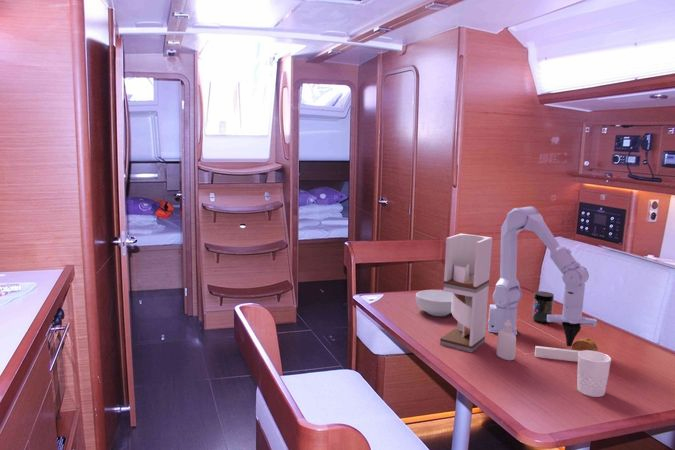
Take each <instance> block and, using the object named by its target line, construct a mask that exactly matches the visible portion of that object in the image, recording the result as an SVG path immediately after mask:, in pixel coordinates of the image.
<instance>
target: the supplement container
mask: <svg viewBox="0 0 675 450" xmlns="http://www.w3.org/2000/svg"><path fill="white" fill-rule="evenodd" d="M533 294H534V295H533V297H534V298H533V305H532V307H533V308H532V317H531V318H532V320H533V322H535V323H539V324H542V325H543V324H545V325H546V324H551V322H547V314H548V315H553V309H554V308H553V307H554V299H555V298H554V297H555V295H554V293H552V292H548V291H542V290H541V291H534V293H533Z"/></svg>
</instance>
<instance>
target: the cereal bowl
mask: <svg viewBox="0 0 675 450" xmlns="http://www.w3.org/2000/svg"><path fill="white" fill-rule="evenodd" d="M415 301H416V304H417V306H418V308H419V309H421V310H422V311H424V312H426V314H428V315H430V316H434V317H446V316H447V315H449V314H452V312H451V305H452V293H450V292H445V291H443V290H441V289H426V290H421V291H418V292H416V293H415Z"/></svg>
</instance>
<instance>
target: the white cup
mask: <svg viewBox="0 0 675 450" xmlns="http://www.w3.org/2000/svg"><path fill="white" fill-rule="evenodd" d="M611 362H612V358H611V357H610V355H608V354H605V353H603V352H601V351H598V350H597V351H590V350H584V351H580V352H579V353H578V362H577V368H576V369H577V372H576V375H577V376H576V380H577V383H576V384H577V385H576V389H577V391H578V392H579V393H580V394H582V395H585V396H588V397H591V398H592V397H593V398H599V397H601V398H602V397H603V396H605V394H606V389H607V384H608V380H609V374H610V369H611V368H610V367H611Z"/></svg>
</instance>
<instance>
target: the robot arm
mask: <svg viewBox="0 0 675 450" xmlns="http://www.w3.org/2000/svg"><path fill="white" fill-rule="evenodd" d="M523 230H526V231H529V232H532V233H535V235H536V236H537V237H538V239H540V240H541V242H542V243H543V244H544V245H545V246H546V248H547V249H548V250H549V252H550V253H549V258H550V259H551V261H552V263H554V264H555V266H556V267H557V269H558V270H559V272H561V275H562V276H561V277H562V281H563V283H564V293H563V302H562V303H563V304H562V312H561V313H562V314H552V315H548V314H547V322H550V323H560V324H561V325H562V328H563V331H564V334H565V340H566V341H565V343H566V347H572V345H573V344H574V343H573V342H574V340H575V339H576V336H577V335H578V333H579V332H580V331H581V330H582V329H581V328H582V327H581V325H582V326H590V327H594V328H597V326H598V320H597V319H596V318H590V317H584V316H583V307H584V299H585V298H584V297H585V287H586V283H587V282H588V280H589V276H590V275H589V271H588V270H587V268H586V267H585V266H584V265H581V263H580V262H578V261H577V260H576V259H575V257H574V256H573V255H572V250H571V249H570V248H567V247H566V246H563V245H560V243H559V242H558V241H557V239H556V237H555V235H553V233H552V231H551V229H550V228H549V227H548V225H547V224H546V222H545V220H544V217H543V216H542V214H540V213H539V211H538V209H537V208H535V207H534V206H532V205H531V206H523V207H515V208H512V209H511V210H509V212H507V213H506V218H505V220H504V222H503V223H502V224H501V228H500V251H499V252H500V256H499V257H500V259H499V260H500V261H499V264H500V265H499V272H500V273H499V279H498V280H497V282H496V284H495V289H494V291H493V293H492V301H493V303H494V304H489V309H488V319H487V328H488V333H496V334H498V333H499V331H501V330H503V329H504V323H506V322H507V320H510V324H512V332H513V333H514V334H515V336H517V335H518V331H517V315H518V304H519V302H520V301H521V299H522V297H523V292H522V291H521V286H520V282H519V280H518V279H517V269H518V268H517V266H518V265H517V263H518V262H517V261H518V234H519V233H520V232H521V231H523Z"/></svg>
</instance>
